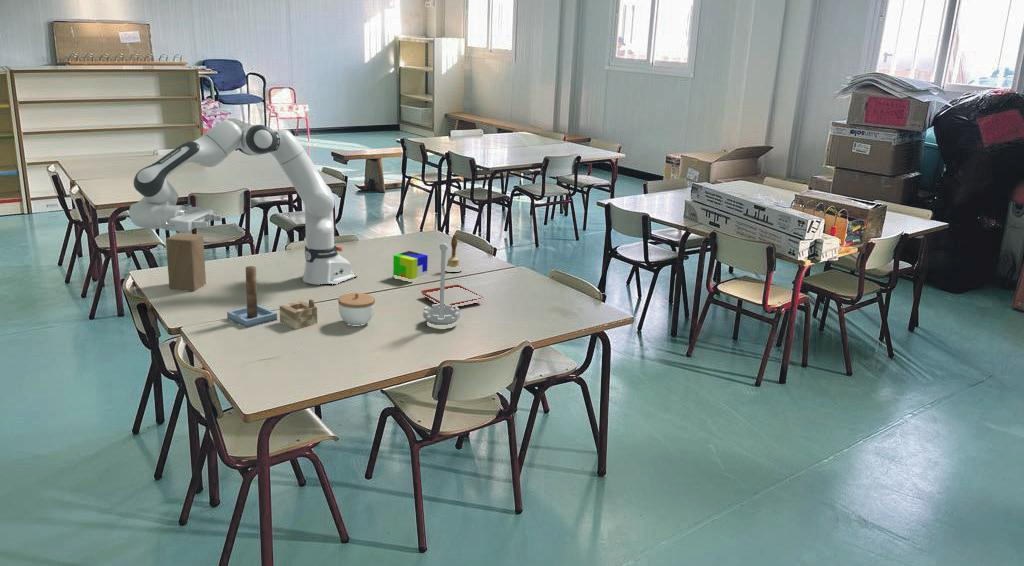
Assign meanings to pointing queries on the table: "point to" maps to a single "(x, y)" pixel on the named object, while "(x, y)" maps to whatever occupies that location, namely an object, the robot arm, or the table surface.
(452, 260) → the hand bell
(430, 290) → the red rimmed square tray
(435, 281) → the table surface
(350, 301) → the lidded bowl
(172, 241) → the wooden block
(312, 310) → the block
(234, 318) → the tray
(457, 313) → the flag stand
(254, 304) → the dowel
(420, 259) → the puzzle toy
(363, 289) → the table surface
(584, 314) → the table surface
